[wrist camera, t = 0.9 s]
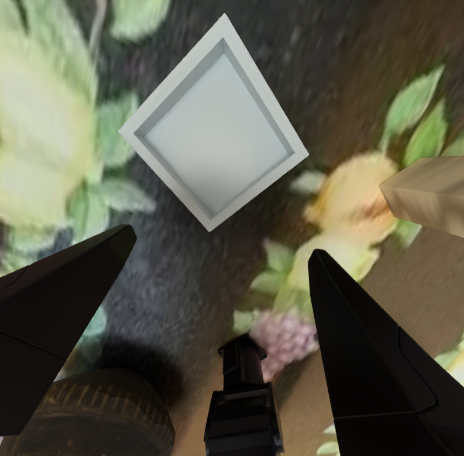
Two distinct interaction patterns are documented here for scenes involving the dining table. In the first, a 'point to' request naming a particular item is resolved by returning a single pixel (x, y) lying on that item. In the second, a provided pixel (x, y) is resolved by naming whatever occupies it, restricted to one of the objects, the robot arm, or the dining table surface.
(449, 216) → the birch block
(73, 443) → the ceramic pot
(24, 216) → the dining table surface
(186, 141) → the tray
